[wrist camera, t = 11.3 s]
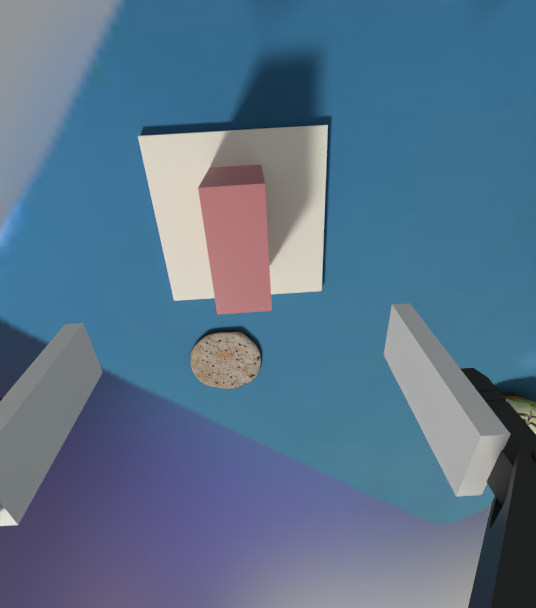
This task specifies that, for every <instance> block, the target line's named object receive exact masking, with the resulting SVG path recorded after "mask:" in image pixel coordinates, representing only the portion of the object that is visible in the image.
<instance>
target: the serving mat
mask: <svg viewBox="0 0 536 608" xmlns="http://www.w3.org/2000/svg"><path fill="white" fill-rule="evenodd" d="M327 136H328V125H314V126H297V127H280V128H262V129H245V130H228V131H211V132H193V133H176V134H159V135H142V136H138V139H139V144H140V148H141V153H142V157H143V162H144V166H145V171H146V175H147V180H148V184H149V189H150V193H151V198H152V202H153V207H154V212H155V216H156V221H157V225H158V230H159V234H160V239H161V243H162V248H163V252H164V257H165V261H166V266H167V270H168V275H169V279H170V284H171V289H172V293H173V298H174V301H178V300H193V299H208V298H215V296H214V289H213V283H212V276H211V270H210V263H209V257H208V250H207V243H206V237H205V230H204V224H203V217H202V211H201V204H200V198H199V191H198V187H199V185H200V183H201V182H202V180H203V178H204V176H205V175H206V173H207V171H208V169H209V168H213V167H228V166H244V165H260V164H261V166H262V171H263V176H264V181H265V194H266V213H267V231H268V250H269V268H270V286H271V294H283V293H298V292H313V291H322V270H323V243H324V216H325V190H326V163H327Z"/></svg>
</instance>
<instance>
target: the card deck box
mask: <svg viewBox="0 0 536 608" xmlns="http://www.w3.org/2000/svg"><path fill="white" fill-rule="evenodd" d="M198 191H199V198H200V204H201V211H202V217H203V224H204V230H205V237H206V243H207V250H208V257H209V263H210V270H211V276H212V283H213V289H214V296H215V302H216V309H217V314H231V313H245V312H260V311H272V305H271V286H270V268H269V250H268V231H267V213H266V194H265V181H264V176H263V171H262V166H261V164H260V165H244V166H228V167H213V168H209V169H208V171H207V173H206V175H205V176H204V178H203V180H202V182H201V183H200V185H199V187H198Z"/></svg>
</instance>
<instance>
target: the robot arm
mask: <svg viewBox="0 0 536 608" xmlns="http://www.w3.org/2000/svg"><path fill="white" fill-rule="evenodd" d="M384 356H385V358H386V360H387V362H388V364H389V366H390V368H391V370H392V372H393V374H394V376H395V378H396V380H397V382H398V384H399V386H400V388H401V390H402V392H403V393H404V395H405V397H406V399H407V401H408V403H409V405H410V407H411V409H412V411H413V413H414V415H415V417H416V419H417V421H418V423H419V425H420V427H421V429H422V431H423V433H424V435H425V436H426V438H427V440H428V442H429V444H430V446H431V448H432V450H433V452H434V454H435V456H436V458H437V460H438V462H439V464H440V466H441V468H442V470H443V472H444V474H445V476H446V477H447V479H448V481H449V483H450V485H451V487H452V489H453V491H454V493H455V495H456V496H471V495H482V493H483V491H484V489H485V487H486V485H487V483H488V485H489V486H490V488H491V490H492V491H493V493H494V495H495V497H494V499H493V501H492V503H491V505H490V507H489V509H488V511H487V513H486V515H485V516H486V517H488V523H487V527H486V532H485V536H484V540H483V545H482V549H481V553H480V558H479V562H478V567H477V571H476V576H475V580H474V585H473V589H472V593H471V598H470V602H469V606H468V608H536V434H535V433H534V432H533V431H532V429H531V428H530V427H529V426H528V425H527V423H526V422H525V421H524V420H523V419H522V418H521V416H520V415H519V414H518V413H517V412H516V410H515V409H514V408H513V407H512V406H511V405H510V403H509V402H506V399H505V397H504V396H503V395H502V394H501V393H500V392H498V389H497V388H496V387H495V386H494V384H493V383H492V382H491V381H490V380H489V379H488V378H487V377H486V376H485V375H483V374H482V373H480V372H479V371H477V370H476V369H474V368H464V369H460V368H459V367H458V365H457V364H456V363H455V361H454V360H453V359H452V358H451V356H450V355H449V354H448V352H447V351H446V350H445V348H444V347H443V346H442V345H441V343H440V342H439V341H438V339H437V338H436V337H435V335H434V334H433V333H432V332H431V330H430V329H429V328H428V326H427V325H426V324H425V322H424V321H423V320H422V319H421V317H420V316H419V315H418V313H417V312H416V311H415V309H414V308H413V307H412V306H411V304H410V303H409V304H392V307H391V313H390V320H389V326H388V332H387V338H386V344H385V351H384ZM101 374H102V370H101V367H100V365H99V362H98V360H97V357H96V354H95V352H94V349H93V347H92V344H91V342H90V339H89V337H88V334H87V332H86V329H85V327H84V324H83V323H79V324H65V325H64V326H63V327H62V329H61V330H60V331H59V332H58V333H57V335H56V336H55V337H54V338H53V339H52V341H51V342H50V343H49V344H48V345H47V346H46V348H45V349H44V350H43V351H42V353H41V354H40V355H39V356H38V357H37V359H36V360H35V361H34V362H33V363H32V365H31V366H30V367H29V368H28V369H27V370H26V371H25V373H24V374H23V375H22V376H21V378H20V379H19V380H18V381H17V382H16V383H15V385H14V386H13V387H12V388H11V389H10V391H9V392H8V393H7V394H6V395H5V396H4V398H0V526H8V525H18V524H19V522H20V520H21V519H22V517H23V515H24V513H25V512H26V510H27V508H28V506H29V504H30V502H31V501H32V499H33V497H34V495H35V493H36V491H37V490H38V488H39V486H40V484H41V482H42V481H43V479H44V477H45V475H46V473H47V472H48V470H49V468H50V466H51V464H52V463H53V461H54V459H55V457H56V456H57V454H58V452H59V450H60V448H61V447H62V445H63V443H64V441H65V439H66V437H67V436H68V434H69V432H70V430H71V428H72V427H73V425H74V423H75V421H76V419H77V418H78V416H79V414H80V412H81V410H82V409H83V407H84V405H85V403H86V401H87V400H88V398H89V396H90V394H91V392H92V390H93V389H94V387H95V385H96V383H97V382H98V380H99V378H100V376H101Z"/></svg>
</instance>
